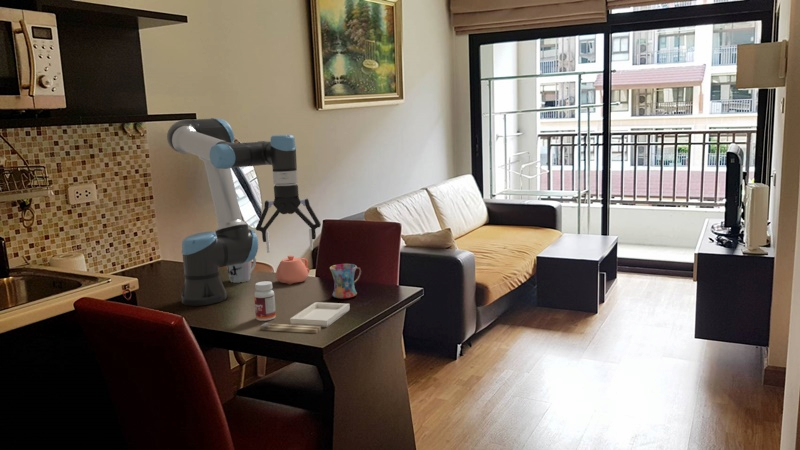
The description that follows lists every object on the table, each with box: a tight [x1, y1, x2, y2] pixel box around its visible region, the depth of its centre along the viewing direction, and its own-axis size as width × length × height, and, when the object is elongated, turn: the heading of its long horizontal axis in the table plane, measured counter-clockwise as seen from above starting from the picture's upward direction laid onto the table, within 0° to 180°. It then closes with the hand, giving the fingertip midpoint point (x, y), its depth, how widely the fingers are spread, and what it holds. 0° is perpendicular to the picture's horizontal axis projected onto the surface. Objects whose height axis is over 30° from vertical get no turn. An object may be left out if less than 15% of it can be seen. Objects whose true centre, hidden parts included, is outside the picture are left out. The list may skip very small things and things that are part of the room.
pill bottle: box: [253, 280, 277, 322], centre depth 202 cm, size 6×6×11 cm
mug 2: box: [329, 263, 362, 299], centre depth 224 cm, size 12×9×11 cm
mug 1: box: [226, 257, 257, 284], centre depth 255 cm, size 10×15×10 cm
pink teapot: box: [275, 255, 310, 286], centre depth 249 cm, size 12×14×10 cm
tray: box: [289, 301, 351, 328], centre depth 201 cm, size 12×18×2 cm, turn 163°
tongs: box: [259, 322, 322, 334], centre depth 190 cm, size 18×3×1 cm, turn 73°
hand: (290, 250), depth 207 cm, fingers open, 13 cm apart
